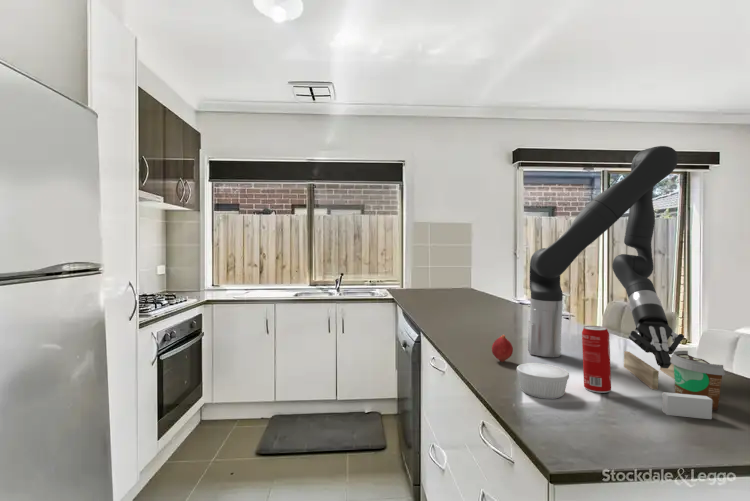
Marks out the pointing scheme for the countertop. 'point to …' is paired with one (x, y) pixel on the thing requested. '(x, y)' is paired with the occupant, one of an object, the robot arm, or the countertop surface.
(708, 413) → the white rectangular block
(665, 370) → the chute
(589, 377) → the beverage can
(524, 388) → the ramekin
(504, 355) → the onion
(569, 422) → the countertop surface
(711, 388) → the food container
